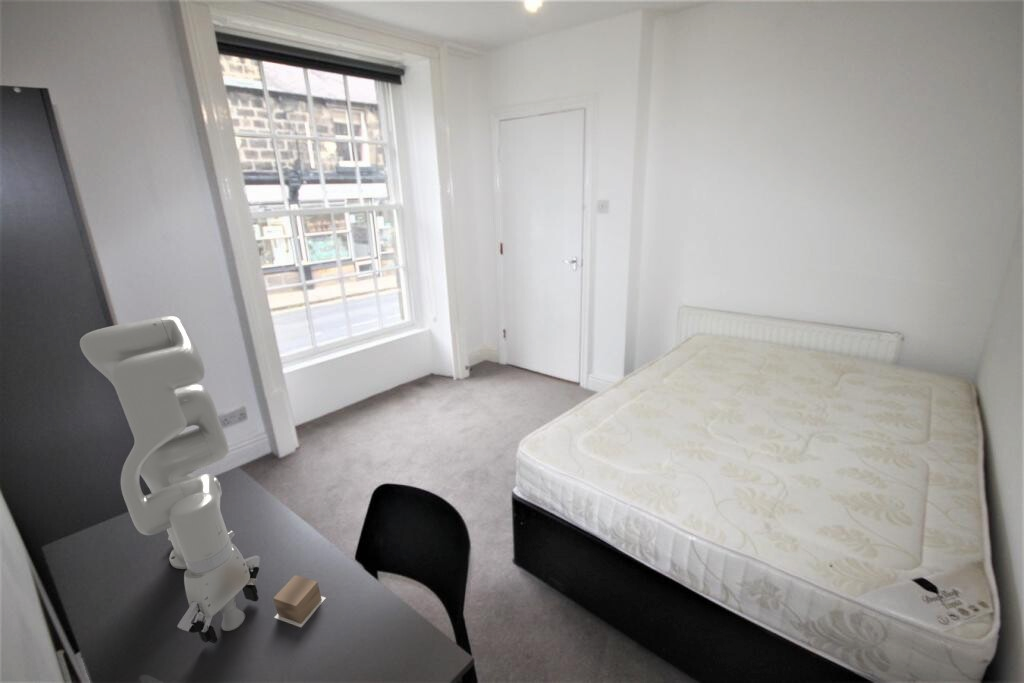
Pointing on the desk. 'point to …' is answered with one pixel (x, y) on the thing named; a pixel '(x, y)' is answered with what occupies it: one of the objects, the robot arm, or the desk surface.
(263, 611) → the desk surface
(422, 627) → the desk surface
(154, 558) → the desk surface
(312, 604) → the walnut block
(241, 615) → the rook chess piece
